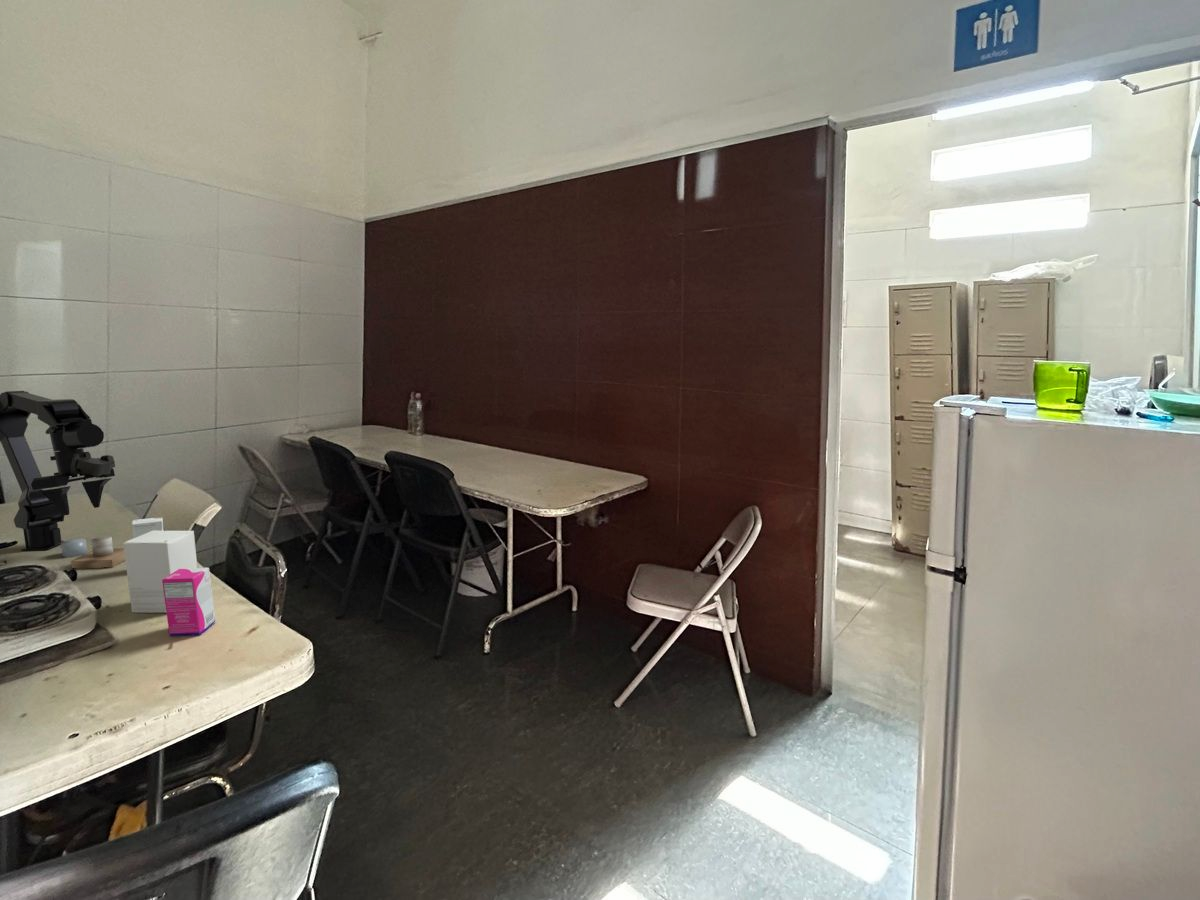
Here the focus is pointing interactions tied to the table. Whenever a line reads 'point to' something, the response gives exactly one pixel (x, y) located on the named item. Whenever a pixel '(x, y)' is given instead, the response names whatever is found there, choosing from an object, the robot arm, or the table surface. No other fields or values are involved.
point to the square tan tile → (100, 555)
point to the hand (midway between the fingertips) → (82, 511)
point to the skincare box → (146, 526)
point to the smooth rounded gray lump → (74, 547)
